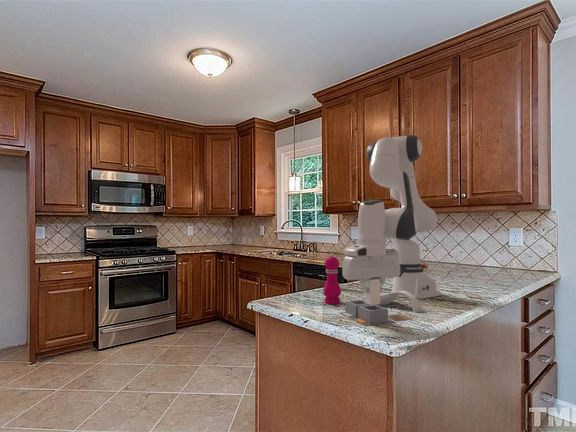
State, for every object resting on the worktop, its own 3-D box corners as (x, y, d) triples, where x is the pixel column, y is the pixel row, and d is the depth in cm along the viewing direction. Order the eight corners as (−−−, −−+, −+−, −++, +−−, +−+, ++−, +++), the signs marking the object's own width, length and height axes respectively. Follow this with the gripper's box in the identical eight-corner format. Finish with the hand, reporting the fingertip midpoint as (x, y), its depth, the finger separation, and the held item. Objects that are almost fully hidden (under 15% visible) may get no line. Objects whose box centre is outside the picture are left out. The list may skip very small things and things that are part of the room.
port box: (366, 312, 127) (365, 298, 127) (394, 324, 112) (394, 308, 112) (339, 315, 123) (339, 301, 123) (365, 328, 108) (365, 312, 108)
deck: (399, 316, 122) (399, 313, 122) (413, 321, 116) (413, 319, 116) (382, 318, 120) (382, 315, 120) (396, 323, 113) (396, 321, 113)
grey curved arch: (357, 304, 141) (357, 286, 141) (376, 300, 148) (376, 283, 148) (409, 316, 122) (409, 296, 122) (428, 311, 129) (428, 292, 129)
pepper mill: (340, 304, 139) (340, 254, 140) (322, 304, 141) (322, 254, 141) (341, 300, 146) (341, 252, 147) (324, 300, 148) (323, 252, 148)
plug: (373, 301, 116) (373, 274, 116) (380, 304, 113) (379, 276, 113) (365, 302, 115) (364, 275, 115) (371, 305, 112) (370, 276, 112)
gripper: (392, 247, 121) (392, 288, 121) (339, 249, 114) (340, 292, 113) (404, 249, 115) (404, 291, 115) (350, 251, 108) (350, 296, 107)
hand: (372, 292), depth 114 cm, fingers closed on plug, 3 cm apart
